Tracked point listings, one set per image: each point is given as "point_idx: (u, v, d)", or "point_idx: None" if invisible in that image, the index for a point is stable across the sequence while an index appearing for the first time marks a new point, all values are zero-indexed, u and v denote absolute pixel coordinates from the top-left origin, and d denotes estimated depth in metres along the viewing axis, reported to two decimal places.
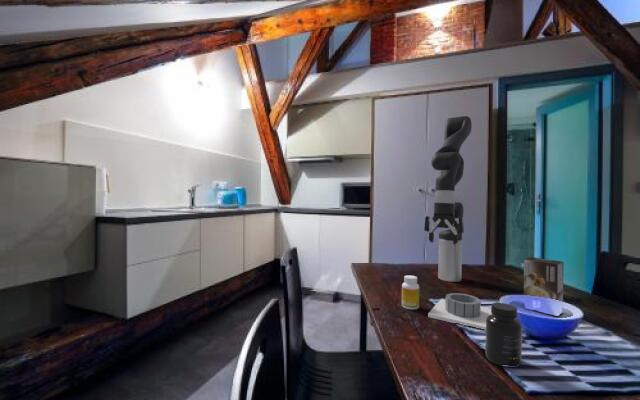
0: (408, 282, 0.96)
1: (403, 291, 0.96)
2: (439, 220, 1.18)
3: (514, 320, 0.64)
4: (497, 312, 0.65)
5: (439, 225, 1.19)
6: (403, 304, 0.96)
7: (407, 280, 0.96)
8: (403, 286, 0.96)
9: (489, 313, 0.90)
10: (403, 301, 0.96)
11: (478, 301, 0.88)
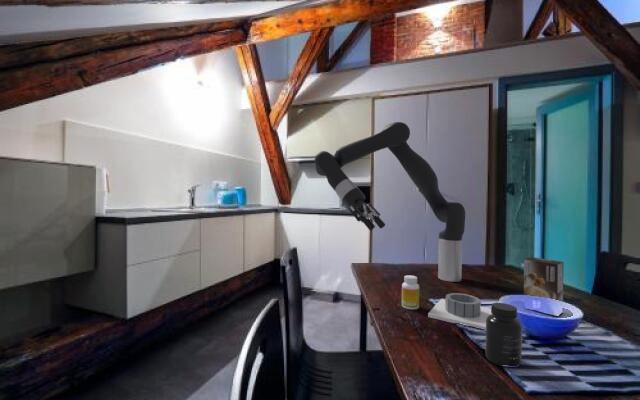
0: (408, 282, 0.96)
1: (403, 291, 0.96)
2: None
3: (514, 320, 0.64)
4: (497, 312, 0.65)
5: None
6: (403, 304, 0.96)
7: (407, 280, 0.96)
8: (403, 286, 0.96)
9: (489, 313, 0.90)
10: (403, 301, 0.96)
11: (478, 301, 0.88)
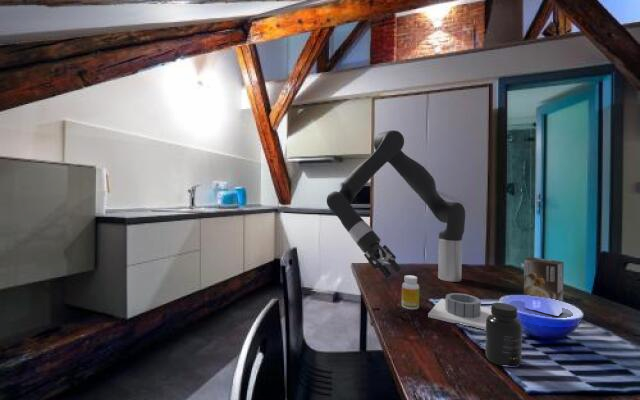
0: (408, 282, 0.96)
1: (403, 291, 0.96)
2: None
3: (514, 320, 0.64)
4: (497, 312, 0.65)
5: None
6: (403, 304, 0.96)
7: (407, 280, 0.96)
8: (403, 286, 0.96)
9: (489, 313, 0.90)
10: (403, 301, 0.96)
11: (478, 301, 0.88)
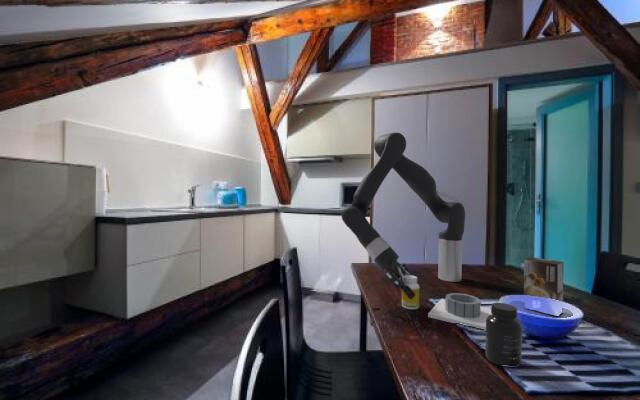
0: (408, 282, 0.96)
1: (403, 291, 0.96)
2: None
3: (514, 320, 0.64)
4: (497, 312, 0.65)
5: None
6: (403, 304, 0.96)
7: (407, 280, 0.96)
8: None
9: (489, 313, 0.90)
10: (403, 301, 0.96)
11: (478, 301, 0.88)
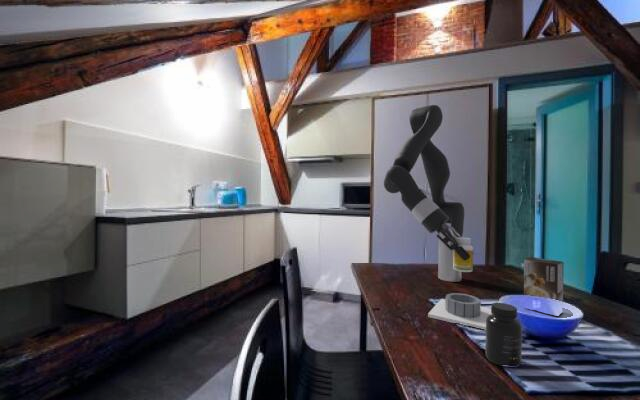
0: (461, 243, 0.89)
1: (456, 253, 0.90)
2: None
3: (514, 320, 0.64)
4: (497, 312, 0.65)
5: None
6: (456, 267, 0.90)
7: (460, 241, 0.89)
8: None
9: (489, 313, 0.90)
10: (456, 264, 0.90)
11: (478, 301, 0.88)
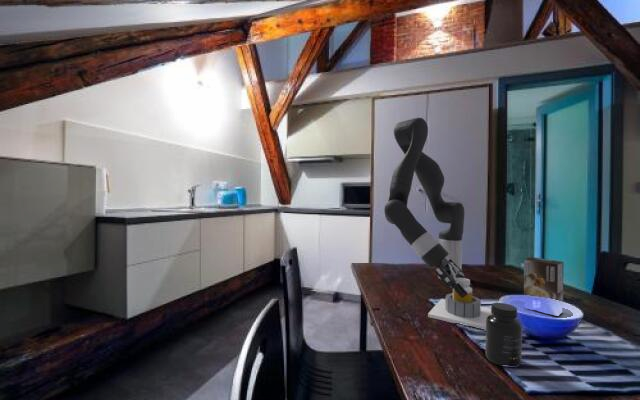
0: (461, 285, 0.90)
1: (455, 294, 0.90)
2: None
3: (514, 320, 0.64)
4: (497, 312, 0.65)
5: None
6: None
7: (460, 283, 0.90)
8: None
9: (489, 313, 0.90)
10: None
11: (478, 301, 0.88)
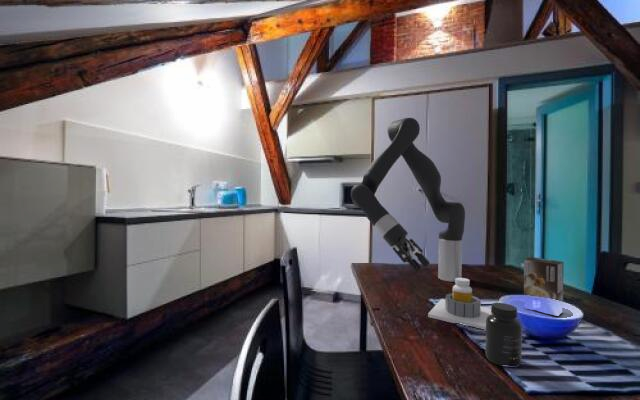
0: (460, 285, 0.90)
1: (455, 294, 0.90)
2: None
3: (514, 320, 0.64)
4: (497, 312, 0.65)
5: None
6: None
7: (459, 283, 0.90)
8: (455, 289, 0.90)
9: (489, 313, 0.90)
10: None
11: (478, 301, 0.88)
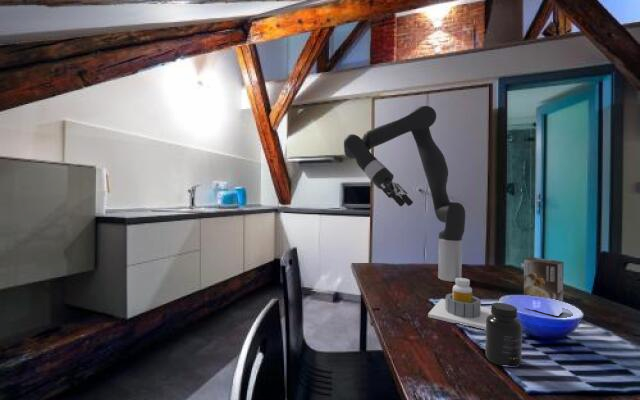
0: (460, 285, 0.90)
1: (455, 294, 0.90)
2: None
3: (514, 320, 0.64)
4: (497, 312, 0.65)
5: None
6: None
7: (459, 283, 0.90)
8: (455, 289, 0.90)
9: (489, 313, 0.90)
10: None
11: (478, 301, 0.88)
